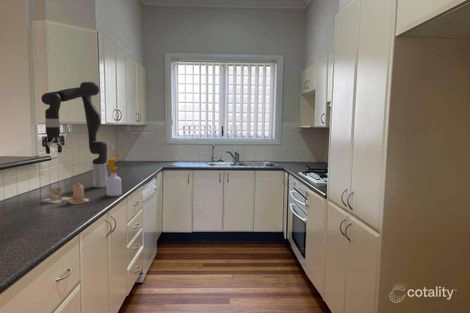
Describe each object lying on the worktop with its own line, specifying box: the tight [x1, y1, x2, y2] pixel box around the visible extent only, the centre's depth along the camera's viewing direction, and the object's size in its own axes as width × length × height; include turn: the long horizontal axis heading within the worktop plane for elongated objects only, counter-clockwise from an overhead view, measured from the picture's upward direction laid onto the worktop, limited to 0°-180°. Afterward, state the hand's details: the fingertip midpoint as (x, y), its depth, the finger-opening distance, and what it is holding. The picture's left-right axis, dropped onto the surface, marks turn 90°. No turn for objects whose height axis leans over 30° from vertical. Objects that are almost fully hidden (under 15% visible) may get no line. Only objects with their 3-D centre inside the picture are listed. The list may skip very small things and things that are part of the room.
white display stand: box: [39, 186, 73, 205], centre depth 182 cm, size 12×12×8 cm
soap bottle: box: [105, 156, 123, 197], centre depth 198 cm, size 9×9×25 cm
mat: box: [68, 197, 90, 205], centre depth 181 cm, size 11×11×1 cm
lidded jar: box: [72, 183, 85, 202], centre depth 180 cm, size 6×6×10 cm
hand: (54, 153), depth 185 cm, fingers open, 8 cm apart
